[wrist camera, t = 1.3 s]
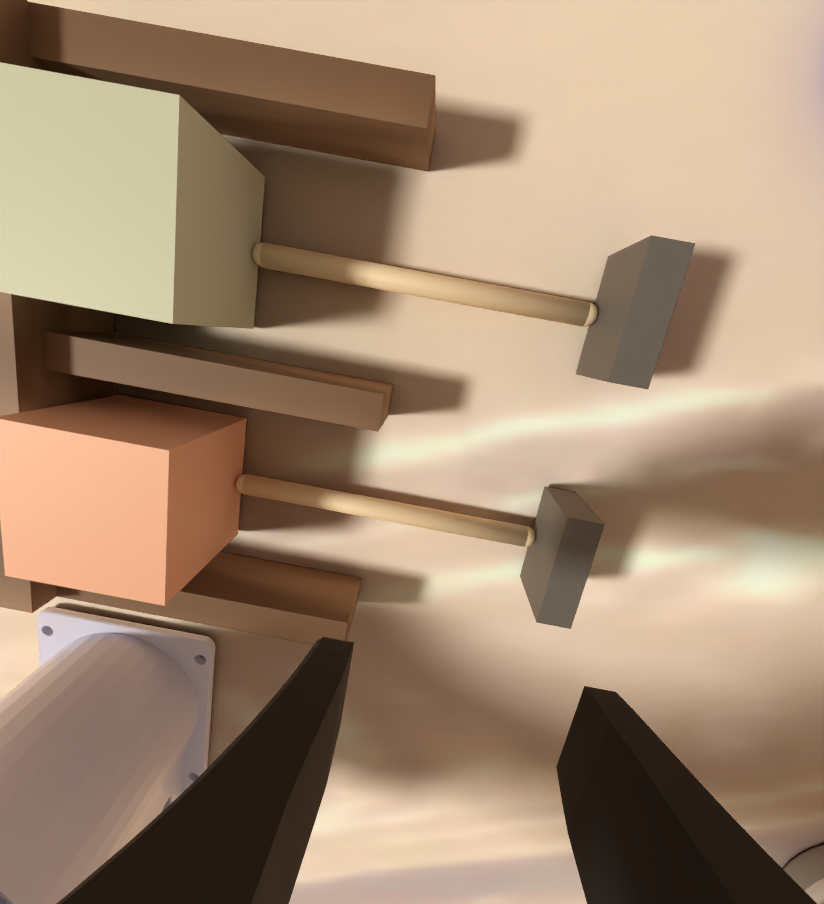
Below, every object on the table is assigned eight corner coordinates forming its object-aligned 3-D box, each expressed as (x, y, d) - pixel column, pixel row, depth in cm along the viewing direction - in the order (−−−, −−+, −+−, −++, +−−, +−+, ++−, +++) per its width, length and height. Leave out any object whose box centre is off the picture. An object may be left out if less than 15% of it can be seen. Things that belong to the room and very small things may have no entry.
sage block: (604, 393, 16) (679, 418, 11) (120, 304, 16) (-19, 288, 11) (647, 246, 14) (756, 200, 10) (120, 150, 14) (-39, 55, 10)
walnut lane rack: (357, 602, 19) (336, 670, 15) (88, 551, 19) (-2, 606, 15) (435, 130, 14) (435, 50, 10) (76, 65, 14) (-60, -40, 10)
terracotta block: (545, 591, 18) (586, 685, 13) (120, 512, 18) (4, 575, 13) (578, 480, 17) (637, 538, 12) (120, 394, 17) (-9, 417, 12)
